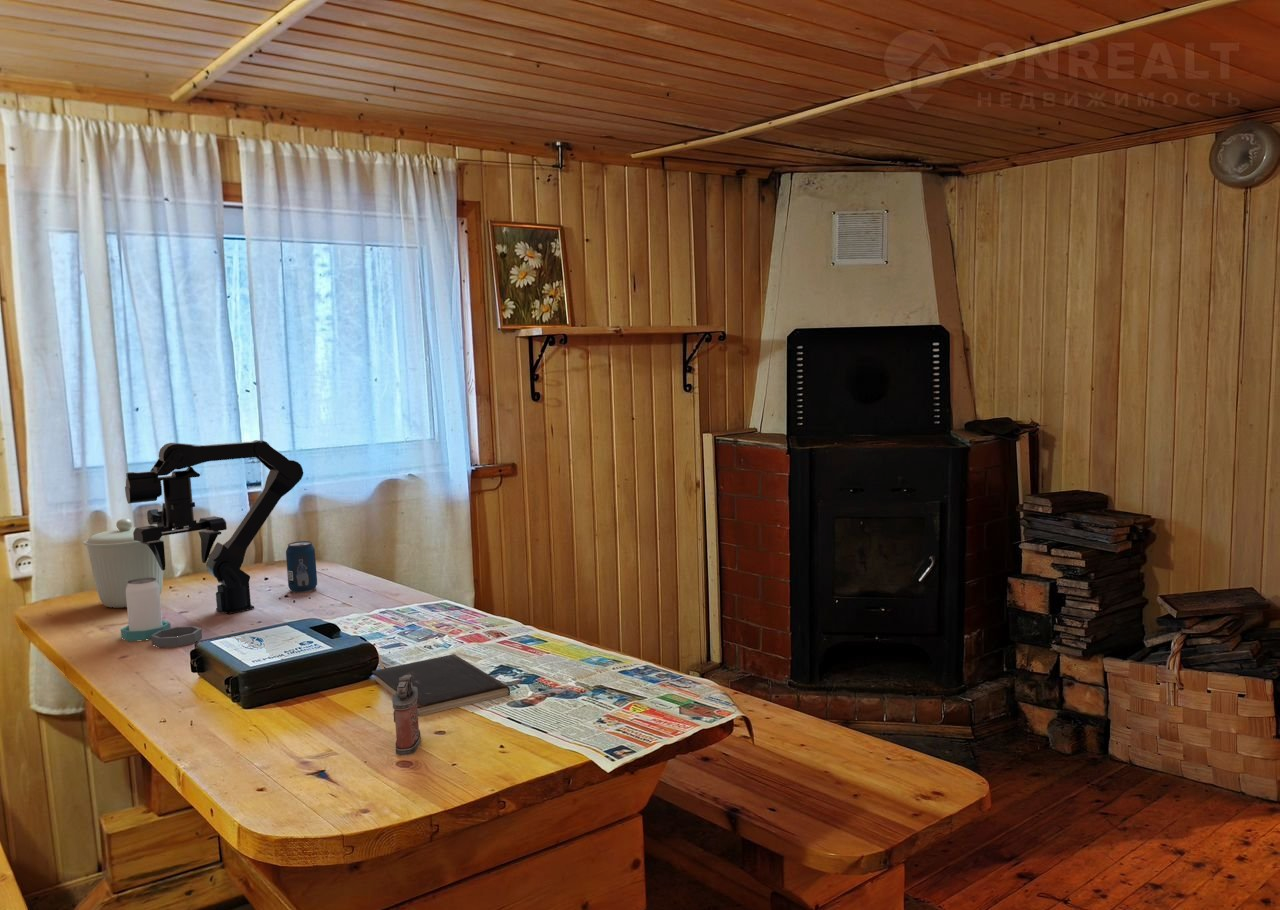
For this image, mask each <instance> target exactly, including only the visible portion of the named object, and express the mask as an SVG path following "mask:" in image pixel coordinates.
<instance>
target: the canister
mask: <svg viewBox="0 0 1280 910" xmlns="http://www.w3.org/2000/svg"><path fill="white" fill-rule="evenodd" d="M115 525H116V528H115V529H111V530H105V531H102V532H98V533H95V534H92V535H91V536H90V537H89V538H88V539H86V540H84V541H83V545H84V546H86V547H87V553H88V558H89V562H90V565H91V570H92V574H93V579H94V583H95V587H96V590H97V595H98V597H99V600H100V602H101V603H102V605H104V606H105V607H109V608H112V607H113V609H115V608H118V609H121V608H122V609H123V608H124V607H125V608H127V601H126V587H127V585H128V583H127V582H128V581H130V580H133V579H139V578H156V582H157V583H158V585H159V590H160V595H161V594H162V591H163V583H164V582H163V581H164V570H161V568H160V566H159V564H158V562H157V560H156V558H155V556H154V554H153V552H152V550H151V549H150V548H149V546H148V545H146V544H142V543H141V542H140V541H135V540H134V536H133V532H134V530H135V528H137V527H133V521H132V520H131V519H130V518H120V519H119V520H117V522H116V524H115ZM166 536H167V535H164V536H162V537H161V538H160V541H164V542H165V538H166Z"/></svg>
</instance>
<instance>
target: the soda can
mask: <svg viewBox="0 0 1280 910" xmlns="http://www.w3.org/2000/svg"><path fill="white" fill-rule="evenodd" d="M285 558H286V570H287V571H286V572H287V573H286V574H287V586H288V587H287V588H289V590H290V591H291V592H292V593H297V594H298V593H299V594H300V593H301V594H302V593H308V592H312V591H315V589H316V587H317V586H318V577H317V562H316V559H317V558H316V549H315V547H314V545H313V542H312V541H311V540H309V541H308V540H301V541H299V540H298V541H293V542H290V543H288V544H287V547H286V550H285Z"/></svg>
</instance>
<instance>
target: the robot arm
mask: <svg viewBox="0 0 1280 910" xmlns="http://www.w3.org/2000/svg"><path fill="white" fill-rule="evenodd" d="M250 458H256V459H257V460H258V461H259V462H260V463H261V464H262V465H263V466H265V467H266V468H267V469H268V470H269V472H268V474H267V476H266V481H265V484H264V488H263V490H262V491H261V493H259V496H258V497H257V498H256V500H255V502H254V503H253V504H252V505H251V508H250V509H249V510H248V512H247V513H246V515H245V516H244V517H243V519H242V521H241V522H240V523H239V525H238V527H237V528H236V530H235V531H234V532H233V534H232V535H231V537H230V538H229V539H228V540H227V541H226V542H225V543H220V542H216V544H215V545H214V543H215V541H216V540H217V538H218V536H219V535H222V531H226V530H227V529H228V528H227V522H226V521H227V520H226V519H225V518H224V517H220V516H214V515H213V516H209V517H200V518H199V520H198V522H197V520H196V519H195V517H194V515H195V514H194V508H195V507H196V502H195V501H193V494H192V493H193V492H192V481H191V479H192V478H199V477H200V476H201V474H200V473H199V472H197V471H196V470H195V469H194V468H193V466H194V467H195V466H197V465H200V464H205V463H207V462H215V461H216V462H217V461H227V460H238V459H239V460H240V459H250ZM182 469H185V470H182ZM175 470H177V471H175ZM170 474H171V475H170ZM125 475H126V476H125V477H126V479H125V486H124V491H125V492H124V493H125V498H126V502H127V504H129V505H130V504H137V503H147V502H157V500H158V498H160V497H161V496H162V495H163V499H164V502H163V503H162V510H160V511H159V510H158V508H154V509H148V510H147V511H146V515H147V516H146V517H147V518H146V519H147V522H148V523H147V524H148V525H145V526H138V527H137V528H136V527H134V528H135V530H134V532H133V536H134V540H135V541H140V542H141V543H142V544H146V545H148V546H149V548H150V549H151V550H152V552H153V554H154V556H155V558H156V560H157V562H158V564H159V566H160V568H161V570H163V571H166V553H165V540H164V541H160V538H161V537H162V536H164V535H166V536H170V535H175V534H183V533H190V532H196V531H197V532H198V535H199V537H200V552H201V554H200V555H201V562H202V563H203V564H206V570H207V572H208V574H209V575H211V576H212V577H213V578H216V580H217V582H218V583H219V584H218V585H217V586H216V588H217V591H216V592H215V601H216V608H215V610H216V611H217V612H219V613H222V614H227V615H230V613H231V614H234V613H233V612H235V613H239V612H238V611H240V612H243V611H242V610H244V611H248V610H247V609H249V610H252V608H253V609H255V605H252V602H251V592H250V591H251V590H250V579H251V576H250V575H249V574H248V573H246V572H245V571H243V570H242V569H241V567H242V565H243V563H244V560H245V556H246V552H247V550H248V547H249V545H251V543H252V541H253V540H254V538H255V537H256V535H257V534H258V532H259V531H260V529H261V528H262V526H264V524H265V522H266V521H267V519H268V517H269V516H270V515H271V513H272V512H273V510H274V509H275V507H276V506H277V504H278V503H279V501H280V500H281V499H282V498H283V497H284V496H285V495H286V494H288V493H289V492H290V491H291V490H293V488H295V486H296V485H297V484H298V483H299V482H300V481H301V480H302V478H303V476H304V470H303V467H302V465H301V463H300V462H298V461H296V460H292V459H288V458H287V457H286V456H285V455H283V454H282V453H281V452H279V451H278V450H276V449H275V448H273V447H272V446H271V445H270V444H269V443H268V442H267V441H265V440H261V439H255V440H251V441H243V442H242V441H241V442H230V443H217V444H204V445H202V444H191V443H180V442H169V443H165V444H164V445H162V447H161V448H160V449H159V452H158V459H157V461H156V462H155V463H154V465H153V466H152V468H151V469H150V470H149V471H142V472H139V471H138V472H135V471H134V472H126V474H125ZM162 486H163V487H162ZM162 488H163V489H162ZM213 546H214V547H213ZM212 548H213V549H212Z"/></svg>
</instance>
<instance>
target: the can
mask: <svg viewBox="0 0 1280 910" xmlns="http://www.w3.org/2000/svg"><path fill="white" fill-rule="evenodd" d="M127 583H128V585H127V587H126V601H127V607H126V609H127V619H128V620H127V621H128V625H129V631H146V630H150V629H155V628H159V627H161V626H163V624H162V620H163V613H162V603H161V594H160V590H159V585H158V583H157V582H156V578H139V579H133V580H130V581H128V582H127Z"/></svg>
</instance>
